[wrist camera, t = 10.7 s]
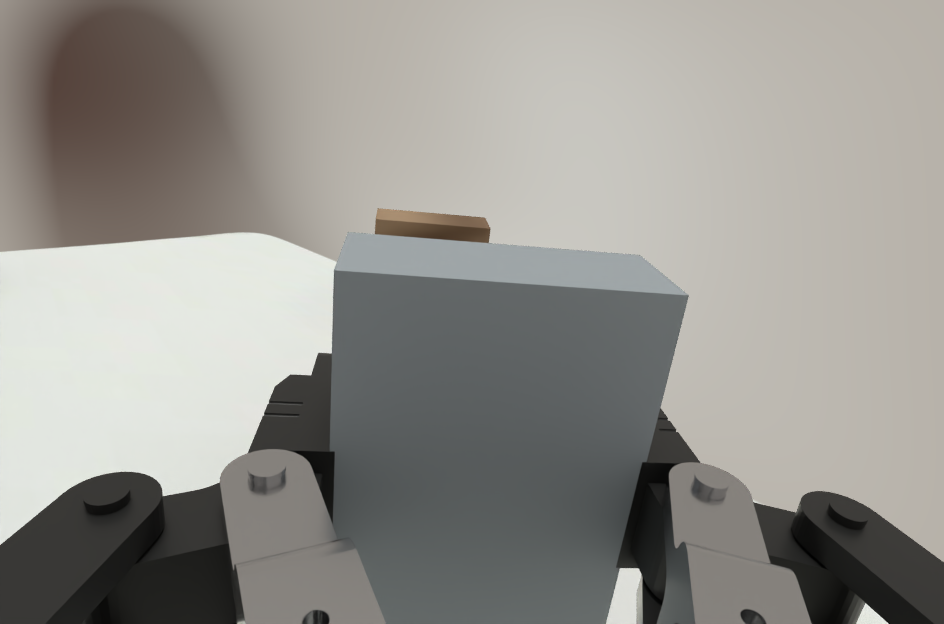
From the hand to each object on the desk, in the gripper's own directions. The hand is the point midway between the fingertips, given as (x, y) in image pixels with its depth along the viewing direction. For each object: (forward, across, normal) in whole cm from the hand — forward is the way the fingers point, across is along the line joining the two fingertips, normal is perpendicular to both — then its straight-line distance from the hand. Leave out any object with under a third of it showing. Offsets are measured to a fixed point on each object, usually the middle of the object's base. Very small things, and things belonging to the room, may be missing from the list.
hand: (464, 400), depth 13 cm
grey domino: (-3, 0, +6) cm, 7 cm away
